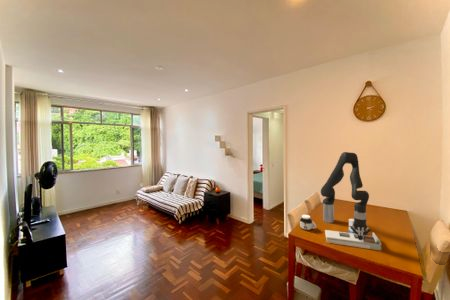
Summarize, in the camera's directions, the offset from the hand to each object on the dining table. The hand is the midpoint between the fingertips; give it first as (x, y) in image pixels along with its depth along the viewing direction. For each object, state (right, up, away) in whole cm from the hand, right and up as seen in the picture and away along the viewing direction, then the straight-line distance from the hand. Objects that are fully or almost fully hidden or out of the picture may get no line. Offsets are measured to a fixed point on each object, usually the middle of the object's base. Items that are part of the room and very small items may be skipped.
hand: (360, 239), depth 145 cm
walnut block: (+5, -1, -2) cm, 5 cm away
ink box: (+7, -3, +16) cm, 18 cm away
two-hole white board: (-3, -3, +6) cm, 8 cm away
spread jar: (-26, -3, +28) cm, 39 cm away
